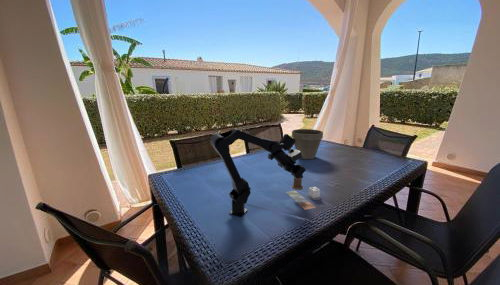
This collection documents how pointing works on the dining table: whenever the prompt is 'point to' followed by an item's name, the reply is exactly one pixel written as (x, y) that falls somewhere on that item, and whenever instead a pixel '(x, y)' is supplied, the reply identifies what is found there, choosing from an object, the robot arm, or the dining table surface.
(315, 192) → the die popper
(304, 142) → the plant pot
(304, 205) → the board
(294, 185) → the pawn
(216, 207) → the dining table surface
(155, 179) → the dining table surface
